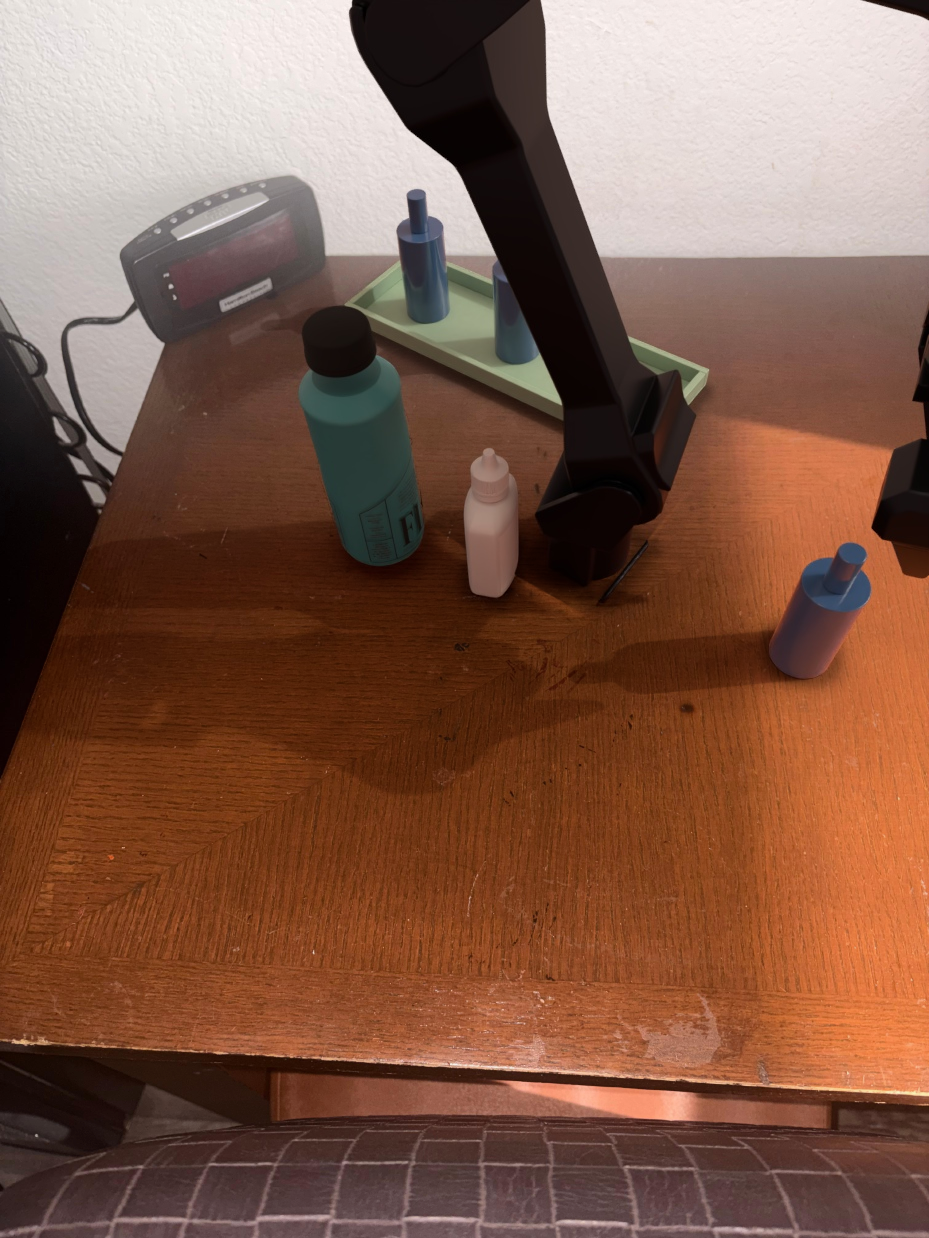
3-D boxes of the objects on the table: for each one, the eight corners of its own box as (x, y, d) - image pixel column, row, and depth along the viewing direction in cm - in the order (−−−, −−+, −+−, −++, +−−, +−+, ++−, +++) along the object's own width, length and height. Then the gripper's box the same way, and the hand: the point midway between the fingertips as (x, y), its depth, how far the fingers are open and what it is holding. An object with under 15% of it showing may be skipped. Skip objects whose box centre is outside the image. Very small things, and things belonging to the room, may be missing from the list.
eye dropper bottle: (541, 560, 62) (545, 443, 52) (490, 608, 60) (484, 495, 50) (497, 530, 64) (493, 411, 54) (446, 576, 62) (431, 461, 52)
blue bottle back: (431, 329, 76) (419, 213, 67) (397, 314, 78) (381, 198, 68) (458, 305, 78) (450, 189, 69) (425, 291, 79) (412, 175, 70)
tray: (641, 465, 67) (645, 444, 65) (347, 325, 78) (343, 304, 76) (704, 391, 71) (709, 369, 69) (416, 269, 82) (414, 247, 81)
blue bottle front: (814, 689, 55) (873, 593, 46) (757, 659, 57) (803, 559, 48) (840, 647, 57) (901, 545, 48) (784, 618, 58) (834, 514, 49)
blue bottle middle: (523, 370, 72) (523, 254, 63) (485, 353, 74) (480, 237, 65) (549, 345, 74) (553, 228, 65) (512, 329, 76) (510, 212, 66)
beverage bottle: (417, 586, 62) (378, 368, 45) (330, 574, 63) (260, 356, 46) (437, 518, 65) (407, 291, 48) (354, 508, 66) (297, 283, 49)
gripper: (1288, 450, 28) (1081, 690, 40) (1267, 158, 37) (1102, 429, 49) (920, 393, 32) (835, 628, 44) (981, 142, 41) (896, 396, 53)
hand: (926, 513), depth 48 cm, fingers open, 9 cm apart
